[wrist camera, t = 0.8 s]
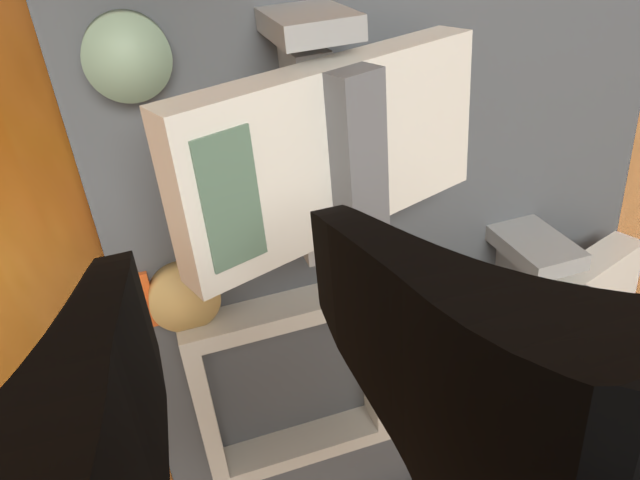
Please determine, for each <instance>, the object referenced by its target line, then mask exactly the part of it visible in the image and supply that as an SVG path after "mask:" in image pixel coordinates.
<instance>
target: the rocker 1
mask: <svg viewBox="0 0 640 480" xmlns="http://www.w3.org/2000/svg"><path fill="white" fill-rule="evenodd" d="M472 35H473V30H470V29H463V28H456V27H448V26H441V25H438V26H435V27H431V28H427V29H423V30H420V31H416V32H412V33H409V34H405V35H401V36H397V37H394V38H390V39H386V40H382V41H379V42H375V43H371V44H368V45H364V46H360V47H356V48H353V49H349V50H345V51H341V52H338V53H334V54H330V55H327V56H323V57H319V58H315V59H312V60H308V61H304V62H300V63H297V64H293V65H289V66H286V67H282V68H278V69H274V70H271V71H267V72H263V73H260V74H256V75H252V76H248V77H245V78H241V79H237V80H233V81H230V82H226V83H222V84H219V85H215V86H211V87H207V88H204V89H200V90H196V91H192V92H189V93H185V94H181V95H178V96H174V97H170V98H166V99H163V100H159V101H155V102H151V103H148V104H144V105H140V106H139V107H140V111H141V116H142V120H143V124H144V128H145V132H146V137H147V141H148V145H149V149H150V153H151V158H152V162H153V166H154V170H155V174H156V179H157V183H158V187H159V191H160V195H161V199H162V204H163V208H164V212H165V216H166V220H167V225H168V229H169V233H170V237H171V241H172V246H173V250H174V254H175V258H176V262H177V267H178V271H179V275H180V279H181V281H182V282H183V283H184V284H185V285H186V286H187V287H188V288H189V289H190V290H192V291H193V292H194V293H195V294H196V295H197V296H198V297H199V298H200V299H201V300H202V301H204V302H205V301H207V300H209V299H211V298H213V297H215V296H217V295H220V294H222V293H224V292H226V291H228V290H230V289H232V288H235V287H237V286H239V285H241V284H243V283H245V282H248V281H250V280H252V279H254V278H256V277H258V276H260V275H263V274H265V273H267V272H269V271H271V270H273V269H276V268H278V267H280V266H282V265H284V264H286V263H288V262H291V261H293V260H295V259H297V258H299V257H301V256H304V255H306V254H308V253H310V252H312V251H314V246H313V236H312V227H311V217H310V212H311V211H315V210H320V209H324V208H329V207H333V206H338V205H346V206H349V207H351V208H354V209H356V210H359V211H361V212H363V213H365V214H368V215H370V216H372V217H374V218H376V219H379V220H381V221H383V222H385V223H387V224H390V215H392V214H394V213H396V212H398V211H400V210H403V209H405V208H407V207H409V206H411V205H413V204H415V203H418V202H420V201H422V200H424V199H426V198H428V197H431V196H433V195H435V194H437V193H439V192H441V191H443V190H446V189H448V188H450V187H452V186H454V185H456V184H458V183H461V182H463V181H465V180H466V177H467V153H468V129H469V106H470V82H471V59H472Z"/></svg>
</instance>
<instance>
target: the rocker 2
mask: <svg viewBox="0 0 640 480" xmlns="http://www.w3.org/2000/svg"><path fill="white" fill-rule="evenodd" d="M586 251H587V252H588V253H590V254H591V255H592V258H591V264H590V270H589V271H585V272H582V273H578V274H574V275H570V276H567V277H563V278H559V279H556V280H557V281H563V282H568V283H573V284H579V285H584V286H589V287H595V288H601V289H608V290H615V291H622V292H629V293H635V292H636V288H637V283H638V279H639V274H640V239H637V238H634V237H632V236H629V235H626V234H623V233H620V232H618V231H614V232H612V233H611V234H609V235H608V236H606V237H604V238H603V239H601V240H600V241H598V242H597V243H595V244H594V245H592V246H590V247H589V248H587V249H586Z"/></svg>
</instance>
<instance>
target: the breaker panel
mask: <svg viewBox="0 0 640 480" xmlns="http://www.w3.org/2000/svg"><path fill="white" fill-rule="evenodd" d="M26 2H27V5H28V8H29V12H30V15H31V18H32V21H33V25H34V28H35V31H36V34H37V38H38V41H39V44H40V47H41V51H42V54H43V57H44V60H45V64H46V67H47V70H48V73H49V77H50V80H51V83H52V86H53V90H54V93H55V96H56V99H57V103H58V106H59V109H60V112H61V116H62V119H63V122H64V125H65V129H66V132H67V135H68V139H69V142H70V145H71V148H72V152H73V155H74V158H75V161H76V165H77V168H78V171H79V174H80V178H81V181H82V184H83V187H84V191H85V194H86V197H87V200H88V204H89V207H90V210H91V213H92V217H93V220H94V223H95V226H96V230H97V233H98V236H99V239H100V243H101V246H102V249H103V252H104V256H108V255H113V254H118V253H122V252H127V251H131V250H132V252H133V256H134V259H135V263H136V266H137V270H138V274H139V277H140V281H141V284H142V288H143V292H144V295H145V299H146V302H147V306H148V309H149V313H150V317H151V320H152V324H153V327H154V331H155V335H156V338H157V342H158V345H159V351H160V357H161V363H162V369H163V375H164V381H165V387H166V394H167V413H168V440H169V467H170V471H171V474H172V477H173V480H412V478H411V476H410V474H409V472H408V470H407V468H406V465H405V463H404V462H403V460H402V458H401V456H400V454H399V452H398V450H397V449H396V447H395V445H394V443H393V441H392V440H391V438H390V436H389V435H388V433H387V431H386V430H385V428H384V426H383V425H382V423H381V421H380V420H379V418H378V416H377V414H376V413H375V411H374V409H373V408H372V406H371V404H370V403H369V401H368V399H367V398H366V396H365V394H364V393H363V391H362V389H361V388H360V386H359V384H358V383H357V381H356V379H355V378H354V376H353V374H352V373H351V371H350V369H349V367H348V366H347V364H346V362H345V361H344V359H343V357H342V355H341V354H340V352H339V350H338V348H337V346H336V344H335V341H334V339H333V337H332V334H331V332H330V330H329V327H328V325H327V322H326V320H325V317H324V315H323V313H322V310H321V308H320V304H319V295H318V285H317V275H316V265H315V256H314V251H312V252H310V253H308V254H306V255H304V256H301V257H299V258H297V259H295V260H293V261H291V262H288V263H286V264H284V265H282V266H280V267H278V268H276V269H273V270H271V271H269V272H267V273H265V274H263V275H260V276H258V277H256V278H254V279H252V280H250V281H248V282H245V283H243V284H241V285H239V286H237V287H235V288H232V289H230V290H228V291H226V292H224V293H222V294H220V295H217V296H215V297H213V298H211V299H209V300H207V301H205V302H204V301H202V300H201V299H200V298H199V297H198V296H197V295H196V294H195V293H194V292H193V291H192V290H190V289H189V288H188V287H187V286H186V285H185V284H184V283H183V282H182V281H181V279H180V275H179V271H178V267H177V262H176V258H175V254H174V250H173V246H172V241H171V237H170V233H169V229H168V225H167V220H166V216H165V212H164V208H163V204H162V199H161V195H160V191H159V187H158V183H157V179H156V174H155V170H154V166H153V162H152V158H151V153H150V149H149V145H148V141H147V137H146V132H145V128H144V124H143V120H142V116H141V111H140V107H139V106H140V105H144V104H148V103H151V102H155V101H159V100H163V99H166V98H170V97H174V96H178V95H181V94H185V93H189V92H192V91H196V90H200V89H204V88H207V87H211V86H215V85H219V84H222V83H226V82H230V81H233V80H237V79H241V78H245V77H248V76H252V75H256V74H260V73H263V72H267V71H271V70H274V69H278V68H282V67H286V66H289V65H293V64H297V63H300V62H304V61H308V60H312V59H315V58H319V57H323V56H327V55H330V54H334V53H338V52H341V51H345V50H349V49H353V48H356V47H360V46H364V45H368V44H371V43H375V42H379V41H382V40H386V39H390V38H394V37H397V36H401V35H405V34H409V33H412V32H416V31H420V30H423V29H427V28H431V27H435V26H438V25H441V26H448V27H456V28H463V29H470V30H473V35H472V59H471V82H470V106H469V129H468V153H467V177H466V180H465V181H463V182H461V183H458V184H456V185H454V186H452V187H450V188H448V189H446V190H443V191H441V192H439V193H437V194H435V195H433V196H431V197H428V198H426V199H424V200H422V201H420V202H418V203H415V204H413V205H411V206H409V207H407V208H405V209H403V210H400V211H398V212H396V213H394V214H392V215H390V225H392V226H394V227H396V228H398V229H401V230H403V231H405V232H408V233H410V234H412V235H414V236H417V237H419V238H422V239H424V240H426V241H429V242H431V243H434V244H436V245H439V246H441V247H444V248H447V249H449V250H452V251H455V252H458V253H460V254H463V255H466V256H469V257H472V258H474V259H477V260H481V261H484V262H487V263H490V264H493V265H497V266H501V267H504V268H508V269H512V270H515V271H519V272H523V273H526V274H530V275H534V276H539V277H543V278H548V279H552V280H556V279H559V278H563V277H567V276H570V275H574V274H578V273H582V272H585V271H589V270H590V264H591V258H592V255H591V254H590V253H588V252H587V251H586V249H587V248H589V247H590V246H592V245H594V244H595V243H597V242H598V241H600V240H601V239H603V238H604V237H606V236H608V235H609V234H611V233H612V232H614V231H617V228H618V223H619V218H620V212H621V207H622V202H623V196H624V191H625V186H626V180H627V175H628V170H629V164H630V159H631V154H632V148H633V143H634V138H635V133H636V127H637V122H638V117H639V111H640V0H26Z"/></svg>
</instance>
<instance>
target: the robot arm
mask: <svg viewBox="0 0 640 480" xmlns="http://www.w3.org/2000/svg"><path fill="white" fill-rule="evenodd" d="M310 217H311V227H312V236H313V246H314V256H315V265H316V275H317V285H318V295H319V304H320V308H321V310H322V313H323V315H324V317H325V320H326V322H327V325H328V327H329V330H330V332H331V334H332V337H333V339H334V341H335V344H336V346H337V348H338V350H339V352H340V354H341V355H342V357H343V359H344V361H345V362H346V364H347V366H348V367H349V369H350V371H351V373H352V374H353V376H354V378H355V379H356V381H357V383H358V384H359V386H360V388H361V389H362V391H363V393H364V394H365V396H366V398H367V399H368V401H369V403H370V404H371V406H372V408H373V409H374V411H375V413H376V414H377V416H378V418H379V420H380V421H381V423H382V425H383V426H384V428H385V430H386V431H387V433H388V435H389V436H390V438H391V440H392V441H393V443H394V445H395V447H396V449H397V450H398V452H399V454H400V456H401V458H402V460H403V462H404V463H405V465H406V468H407V470H408V472H409V474H410V476H411V478H412V480H640V294H637V293H629V292H622V291H615V290H608V289H601V288H595V287H589V286H584V285H579V284H573V283H568V282H563V281H557V280H552V279H548V278H543V277H539V276H534V275H530V274H526V273H523V272H519V271H515V270H512V269H508V268H504V267H501V266H497V265H493V264H490V263H487V262H484V261H481V260H477V259H474V258H472V257H469V256H466V255H463V254H460V253H458V252H455V251H452V250H449V249H447V248H444V247H441V246H439V245H436V244H434V243H431V242H429V241H426V240H424V239H422V238H419V237H417V236H414V235H412V234H410V233H408V232H405V231H403V230H401V229H398V228H396V227H394V226H392V225H390V224H387V223H385V222H383V221H381V220H379V219H376V218H374V217H372V216H370V215H368V214H365V213H363V212H361V211H359V210H356V209H354V208H351V207H349V206H346V205H338V206H333V207H329V208H324V209H320V210H315V211H311V212H310ZM0 480H170V471H169V440H168V413H167V394H166V387H165V381H164V375H163V369H162V363H161V357H160V351H159V345H158V342H157V338H156V335H155V331H154V327H153V324H152V320H151V317H150V313H149V309H148V306H147V302H146V299H145V295H144V292H143V288H142V284H141V281H140V277H139V274H138V270H137V266H136V263H135V259H134V256H133V252H132V250H131V251H127V252H122V253H118V254H113V255H108V256H104V257H99V258H95V259H94V260H93V261H92V263H91V264H90V265H89V267H88V268H87V270H86V271H85V273H84V275H83V276H82V278H81V280H80V281H79V283H78V284H77V286H76V288H75V289H74V291H73V292H72V294H71V295H70V297H69V299H68V300H67V302H66V303H65V305H64V306H63V308H62V309H61V311H60V312H59V314H58V315H57V317H56V318H55V320H54V321H53V322H52V324H51V325H50V327H49V328H48V330H47V331H46V333H45V334H44V335H43V337H42V338H41V339H40V341H39V342H38V343H37V344H36V346H35V347H34V348H33V350H32V351H31V352H30V353H29V355H28V356H27V357H26V359H25V360H24V361H23V362H22V364H21V365H20V366H19V367H18V369H17V370H16V371H15V372H14V373H13V374H12V376H11V377H10V378H9V379H8V380H7V381H6V382H5V383H4V385H3V386H2V387H1V388H0Z"/></svg>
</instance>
